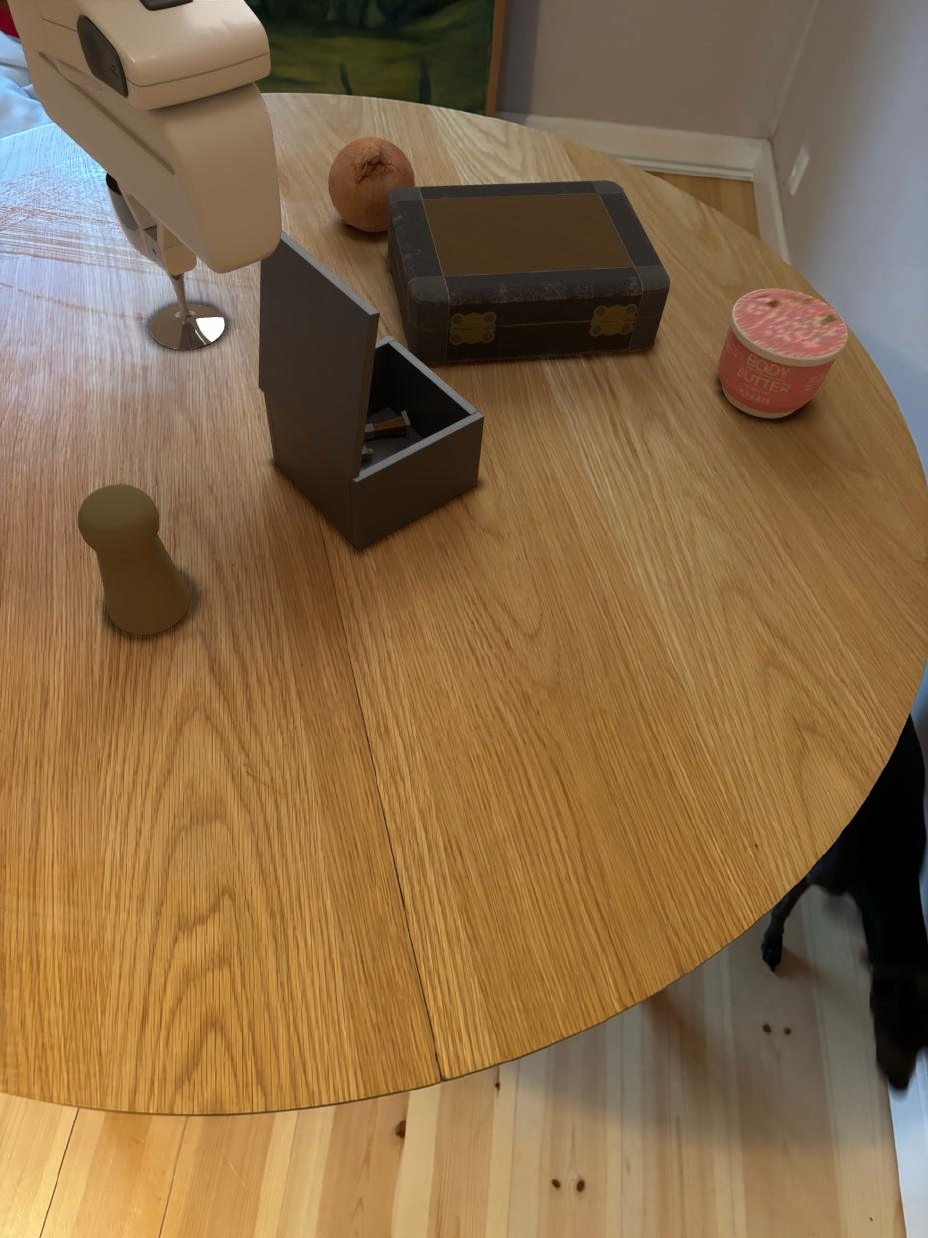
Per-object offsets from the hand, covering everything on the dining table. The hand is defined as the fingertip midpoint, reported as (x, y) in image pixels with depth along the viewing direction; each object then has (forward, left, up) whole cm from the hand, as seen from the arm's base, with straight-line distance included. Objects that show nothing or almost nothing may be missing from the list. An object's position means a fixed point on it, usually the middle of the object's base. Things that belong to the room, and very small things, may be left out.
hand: (171, 260), depth 51 cm
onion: (+37, +32, -25) cm, 55 cm away
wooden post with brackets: (+15, +1, -24) cm, 28 cm away
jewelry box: (+41, +12, -25) cm, 50 cm away
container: (+51, -13, -25) cm, 58 cm away
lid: (+9, 0, -10) cm, 14 cm away
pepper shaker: (-8, -1, -25) cm, 27 cm away
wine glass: (+11, +27, -25) cm, 39 cm away
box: (+14, 0, -25) cm, 29 cm away
